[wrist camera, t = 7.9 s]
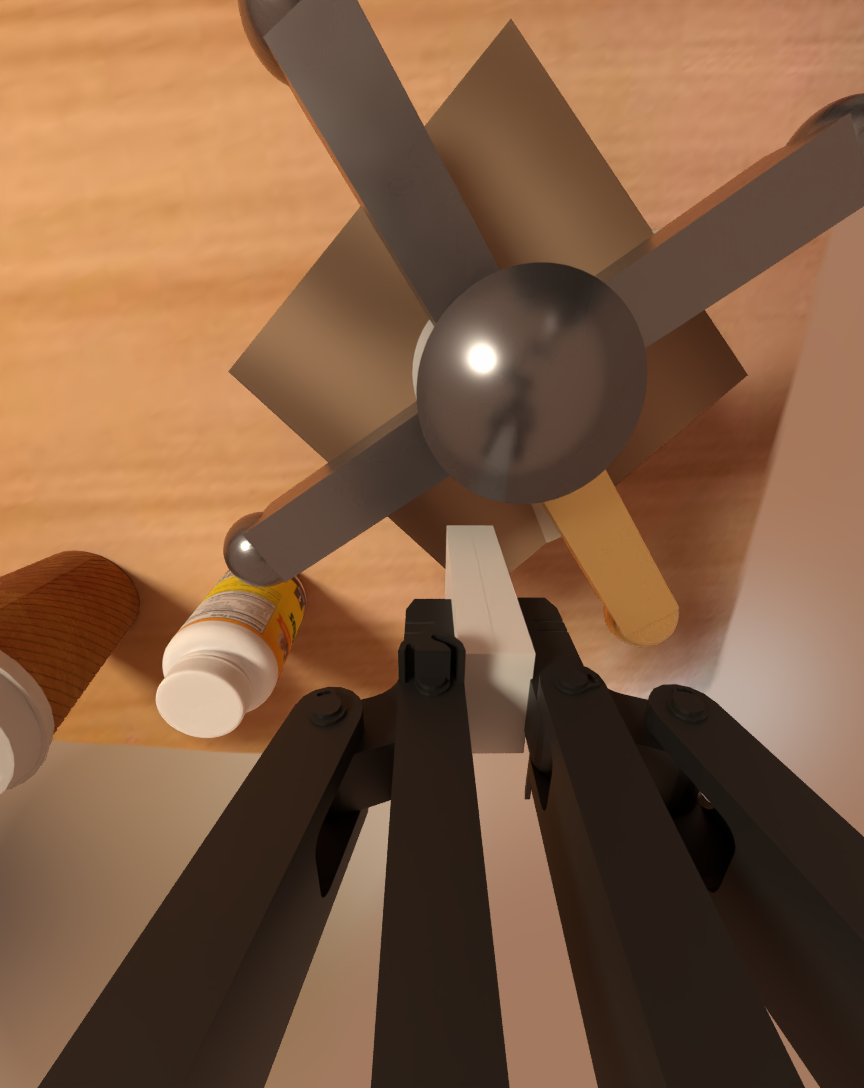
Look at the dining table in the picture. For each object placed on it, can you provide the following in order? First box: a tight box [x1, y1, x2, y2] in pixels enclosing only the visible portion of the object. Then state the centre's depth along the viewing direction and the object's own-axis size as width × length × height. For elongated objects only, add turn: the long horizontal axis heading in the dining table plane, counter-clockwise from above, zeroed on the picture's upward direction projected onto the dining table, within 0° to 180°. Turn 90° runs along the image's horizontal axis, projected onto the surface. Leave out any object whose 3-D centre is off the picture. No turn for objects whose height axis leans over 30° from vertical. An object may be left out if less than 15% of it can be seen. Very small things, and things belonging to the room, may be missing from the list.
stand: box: [228, 19, 747, 574], centre depth 21 cm, size 16×14×8 cm
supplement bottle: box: [156, 570, 306, 738], centre depth 26 cm, size 6×6×10 cm
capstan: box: [223, 0, 864, 647], centre depth 15 cm, size 22×22×7 cm
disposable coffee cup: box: [0, 551, 139, 795], centre depth 25 cm, size 10×10×12 cm
